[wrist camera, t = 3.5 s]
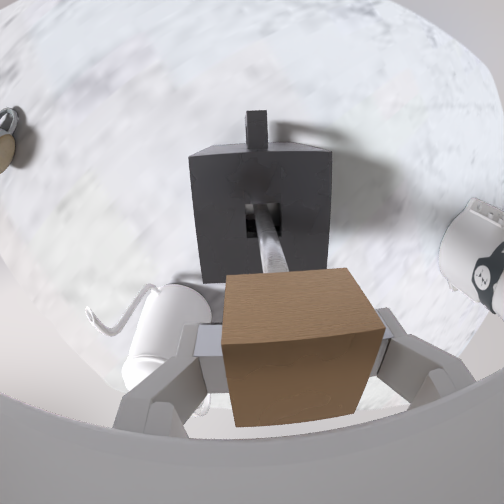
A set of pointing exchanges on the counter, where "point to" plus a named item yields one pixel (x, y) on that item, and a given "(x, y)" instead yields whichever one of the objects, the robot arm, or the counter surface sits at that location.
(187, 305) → the coffeepot
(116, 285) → the counter surface
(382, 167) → the counter surface
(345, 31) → the counter surface
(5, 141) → the ceramic mug
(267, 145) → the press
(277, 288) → the plunger
